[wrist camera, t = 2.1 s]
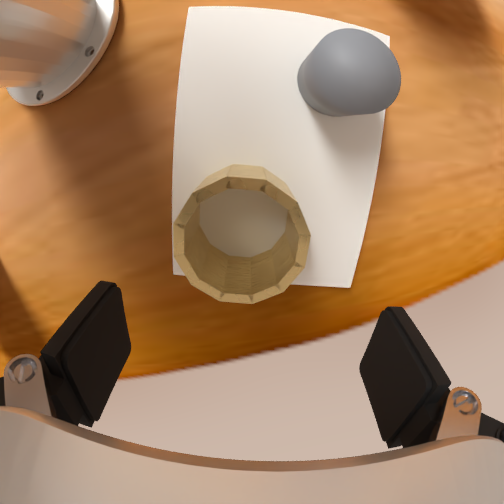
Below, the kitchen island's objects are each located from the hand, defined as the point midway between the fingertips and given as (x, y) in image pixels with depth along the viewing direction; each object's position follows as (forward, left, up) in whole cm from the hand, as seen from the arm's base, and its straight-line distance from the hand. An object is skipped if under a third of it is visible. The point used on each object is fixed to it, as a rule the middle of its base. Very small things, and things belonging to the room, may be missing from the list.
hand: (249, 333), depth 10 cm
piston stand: (-5, +1, -12) cm, 14 cm away
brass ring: (-1, -1, -11) cm, 11 cm away
